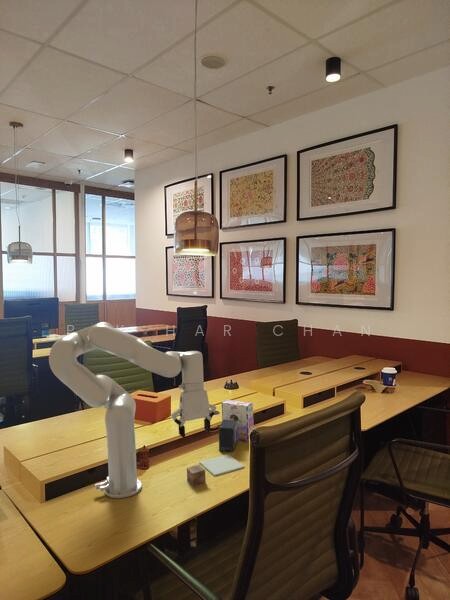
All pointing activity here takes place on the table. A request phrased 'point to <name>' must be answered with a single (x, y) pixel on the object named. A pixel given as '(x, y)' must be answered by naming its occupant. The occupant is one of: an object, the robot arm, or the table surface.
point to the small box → (228, 435)
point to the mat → (221, 465)
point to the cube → (196, 475)
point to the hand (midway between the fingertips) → (195, 433)
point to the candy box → (239, 417)
